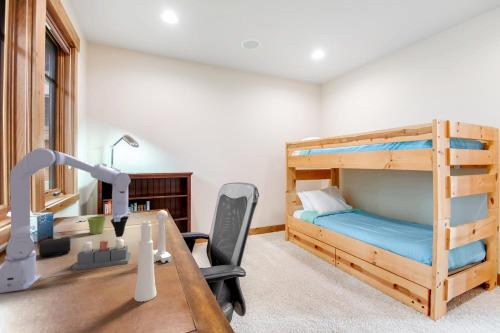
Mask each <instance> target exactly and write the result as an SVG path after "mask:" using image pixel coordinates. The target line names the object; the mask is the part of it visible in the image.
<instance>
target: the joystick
mask: <svg viewBox="0 0 500 333" xmlns="http://www.w3.org/2000/svg"><path fill="white" fill-rule="evenodd" d="M155 215H156V216H155V218H156V220H157V221H158V236H157V239H158V240H157V249H153V257H154V263H157V262H158V261H161V263H164V264H165V263H166V261H167V263H170V262H171V261H172V254H170V253H169V252H168V251H166V229H165V226H166V225H165V222H166V220H167V219H168V216H169V215H168V212H167V211H166V210H164V209H162V210H159V211H157V213H156V214H155ZM156 261H157V262H156Z"/></svg>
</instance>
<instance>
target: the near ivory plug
mask: <svg viewBox="0 0 500 333" xmlns="http://www.w3.org/2000/svg"><path fill="white" fill-rule="evenodd" d="M82 245H83V246H82V247H83V248H82V250H83V253H90V252H92V249H93V241H84V242H83V243H82Z"/></svg>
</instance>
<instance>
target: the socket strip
mask: <svg viewBox="0 0 500 333" xmlns="http://www.w3.org/2000/svg"><path fill="white" fill-rule="evenodd" d="M128 247H129V245H124V249H121V250H116V246H110V247H109V246H108V251H101V252H100V247H98V248H92V252H90V253H83V249H81V250H80V251H79V252H78V253H77V256H76V258H77V259H76V262H75V263H74V264H73V266H72V271H76V270H77V271H78V270H85V269H93V268H101V267H110V266H111V267H112V266H117V265H118V266H121V265H127V264H129V261H130V258H131V254H132V253H131V252H128V250H129V248H128Z"/></svg>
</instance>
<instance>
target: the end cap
mask: <svg viewBox="0 0 500 333" xmlns="http://www.w3.org/2000/svg"><path fill="white" fill-rule="evenodd" d="M71 242H72V241H71V237H70V236H64V237H63V236H62V237H60V238H48V239H47V238H46V239H43V240H41V241H40V242H39V248H38V249H39V251H38V252H39V253H38V254H39V256H40V257H41V258H45V257H50V256H57V255H62V254H68V253H70V252H71Z"/></svg>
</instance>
